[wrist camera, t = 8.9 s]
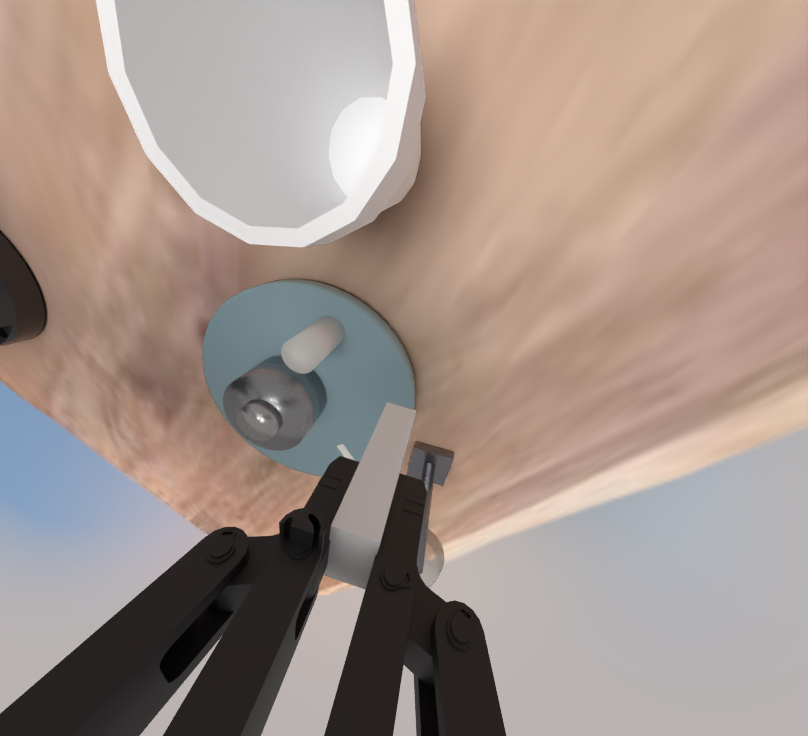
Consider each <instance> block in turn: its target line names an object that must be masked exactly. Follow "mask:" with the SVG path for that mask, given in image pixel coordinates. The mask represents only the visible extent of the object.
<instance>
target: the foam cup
mask: <svg viewBox="0 0 808 736" xmlns="http://www.w3.org/2000/svg"><path fill="white" fill-rule="evenodd" d="M96 3H97V9H98V15H99V21H100V27H101V32H102V38H103V44H104V50H105V56H106V61H107V67H108V73H109V75H110V77H111V79H112V82H113V84H114V86H115V88H116V90H117V92H118V95H119V97H120V99H121V101H122V103H123V106H124V108H125V110H126V112H127V114H128V117H129V119H130V121H131V123H132V125H133V127H134V130H135V132H136V134H137V136H138V138H139V141H140V143H141V145H142V147H143V149H144V151H145V154H146V156H147V157H148V158H149V159H150V160H151V162H152V163H153V164H154V165H155V166H156V167H157V169H158V170H159V171H160V172H161V173H162V175H163V176H164V177H165V178H166V179H167V180H168V182H169V183H170V184H171V185H172V186H173V187H174V189H175V190H176V191H177V192H178V193H179V195H180V196H181V197H182V198H183V199H184V200H185V202H186V203H187V204H188V205H189V206H190V207H191V209H192V210H193V211H194V212H195V213H196V214H198V215H200V216H201V217H203V218H205V219H207V220H208V221H210V222H212V223H213V224H215V225H217V226H219V227H220V228H222V229H224V230H226V231H227V232H229V233H231V234H233V235H234V236H236V237H238V238H239V239H241V240H243V241H245V242H246V243H248V244H257V245H273V246H289V247H309V246H316V245H322V244H328V243H332V242H334V241H336V240H338V239H340V238H342V237H344V236H345V235H347V234H349V233H351V232H353V231H355V230H357V229H359V228H361V227H363V226H365V225H367V224H369V223H371V222H373V221H374V220H375V219H376V218H377V216H378V215H379V213H380V212H382V211H384V210H386V209H388V208H390V207H391V206H393V205H395V204H397V203H399V202H401V201H402V200H403V198H404V197H405V196H406V194H407V193H408V191H409V190H410V189H411V187H412V186H413V185H414V183H415V180H416V176H417V172H418V167H419V163H420V159H421V125H420V121H421V117H422V113H423V108H424V104H425V100H426V92H425V83H424V75H423V66H422V57H421V49H420V40H419V31H418V23H417V14H416V6H415V1H414V0H96Z"/></svg>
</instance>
